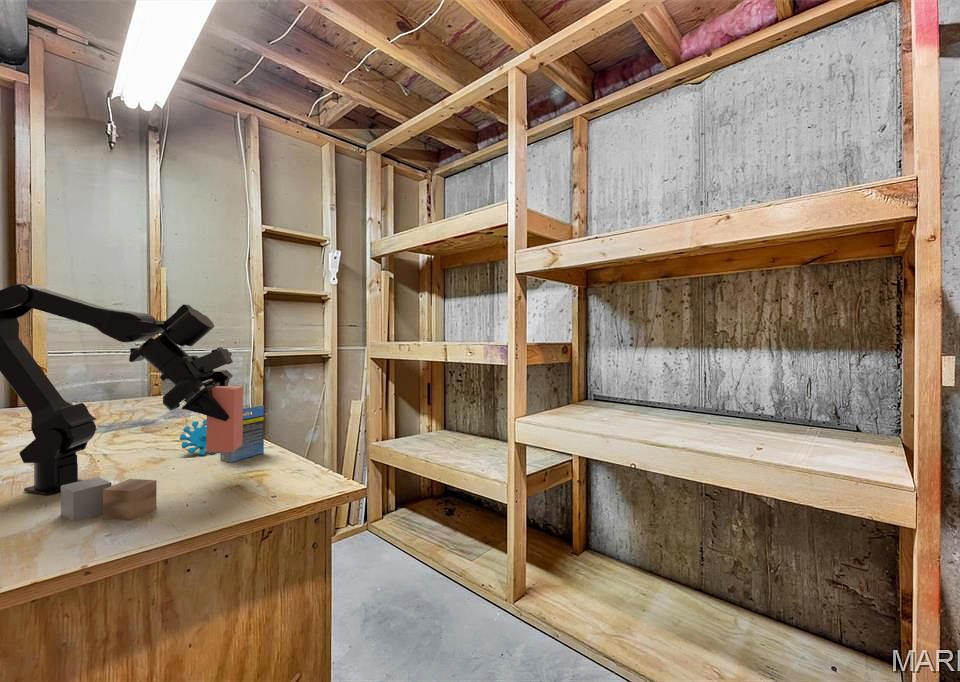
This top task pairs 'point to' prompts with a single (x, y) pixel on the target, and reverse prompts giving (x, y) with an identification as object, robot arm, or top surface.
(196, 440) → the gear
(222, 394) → the red block
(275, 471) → the top surface
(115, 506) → the walnut cube
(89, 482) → the gray cube
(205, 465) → the top surface
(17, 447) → the top surface
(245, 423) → the label tape cartridge
